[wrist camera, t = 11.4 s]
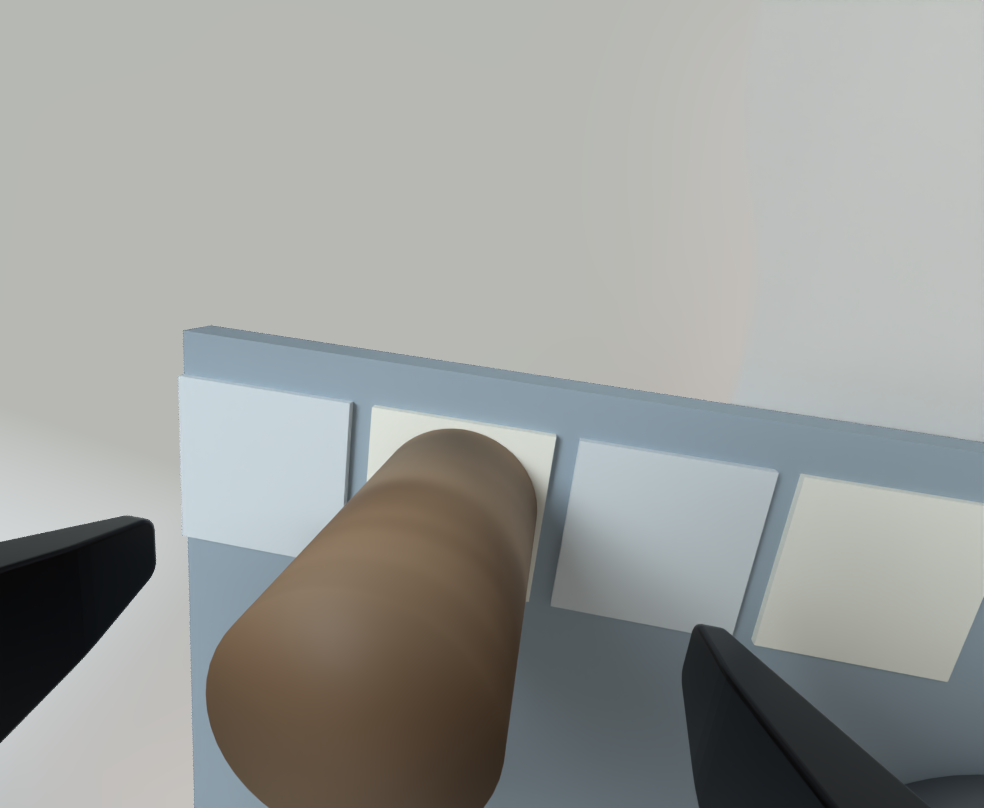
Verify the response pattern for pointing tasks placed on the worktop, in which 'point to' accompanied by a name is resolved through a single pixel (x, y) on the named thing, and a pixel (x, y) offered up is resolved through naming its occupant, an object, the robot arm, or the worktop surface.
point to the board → (617, 556)
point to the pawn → (387, 640)
